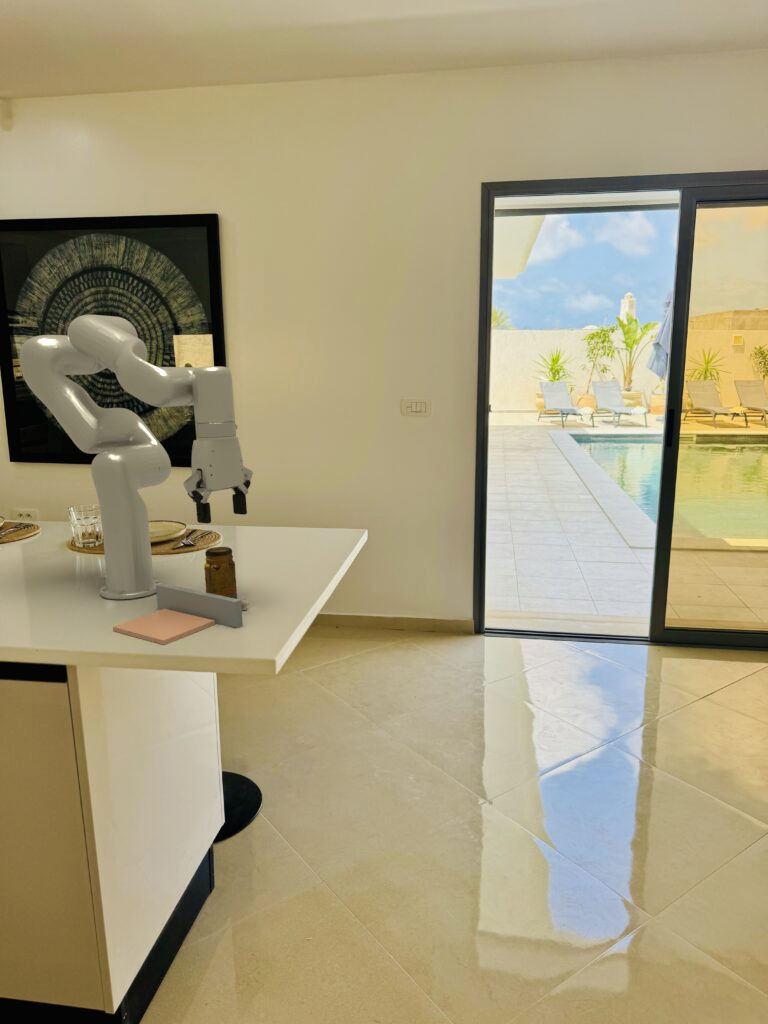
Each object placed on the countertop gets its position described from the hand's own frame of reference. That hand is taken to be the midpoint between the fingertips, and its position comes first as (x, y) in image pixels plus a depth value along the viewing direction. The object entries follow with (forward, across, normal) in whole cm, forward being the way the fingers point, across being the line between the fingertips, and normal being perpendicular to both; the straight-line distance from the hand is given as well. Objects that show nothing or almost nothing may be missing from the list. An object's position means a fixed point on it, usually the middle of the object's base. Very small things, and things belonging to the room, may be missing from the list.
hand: (222, 518), depth 143 cm
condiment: (+19, 0, -1) cm, 19 cm away
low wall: (+18, +8, -1) cm, 20 cm away
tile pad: (+18, +15, -2) cm, 24 cm away
